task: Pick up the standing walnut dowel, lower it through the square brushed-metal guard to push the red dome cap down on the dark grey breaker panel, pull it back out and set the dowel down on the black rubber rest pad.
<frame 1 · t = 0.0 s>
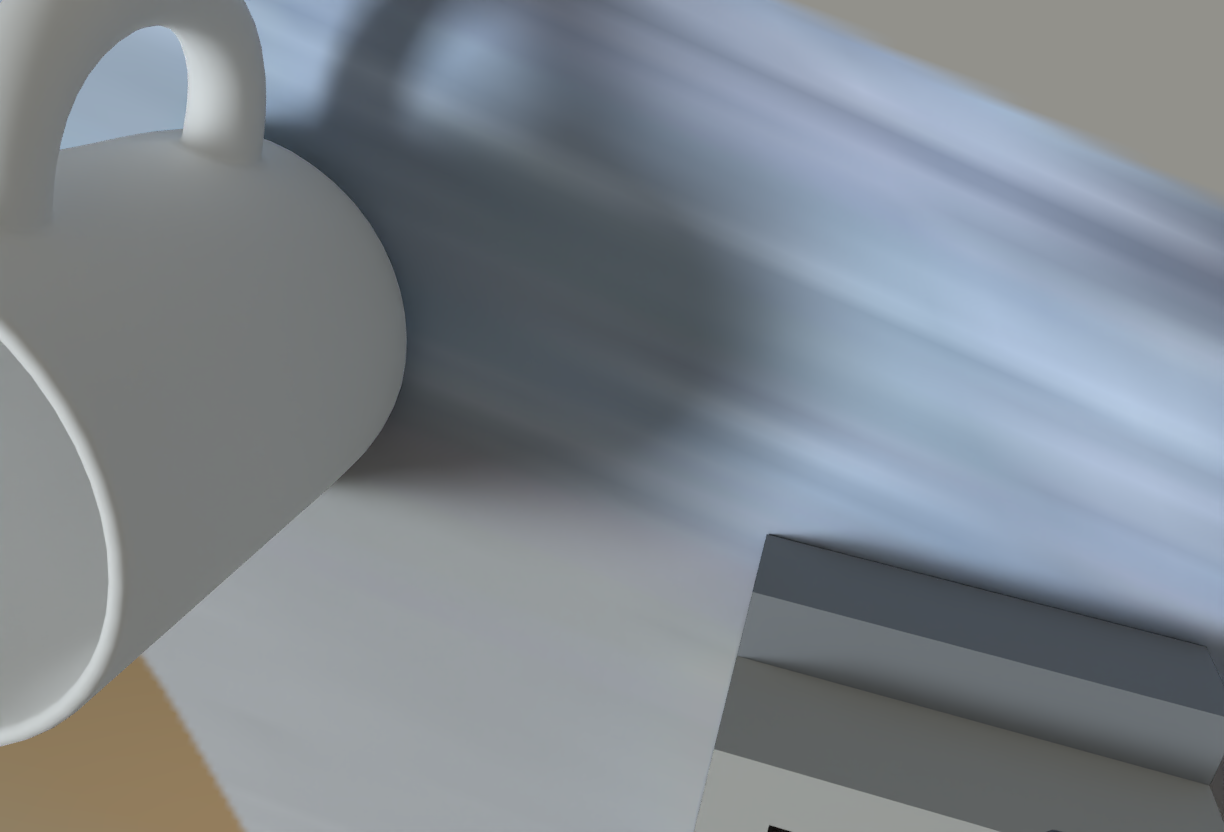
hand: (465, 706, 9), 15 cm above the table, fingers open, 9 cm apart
mug: (266, 231, 25), on the table
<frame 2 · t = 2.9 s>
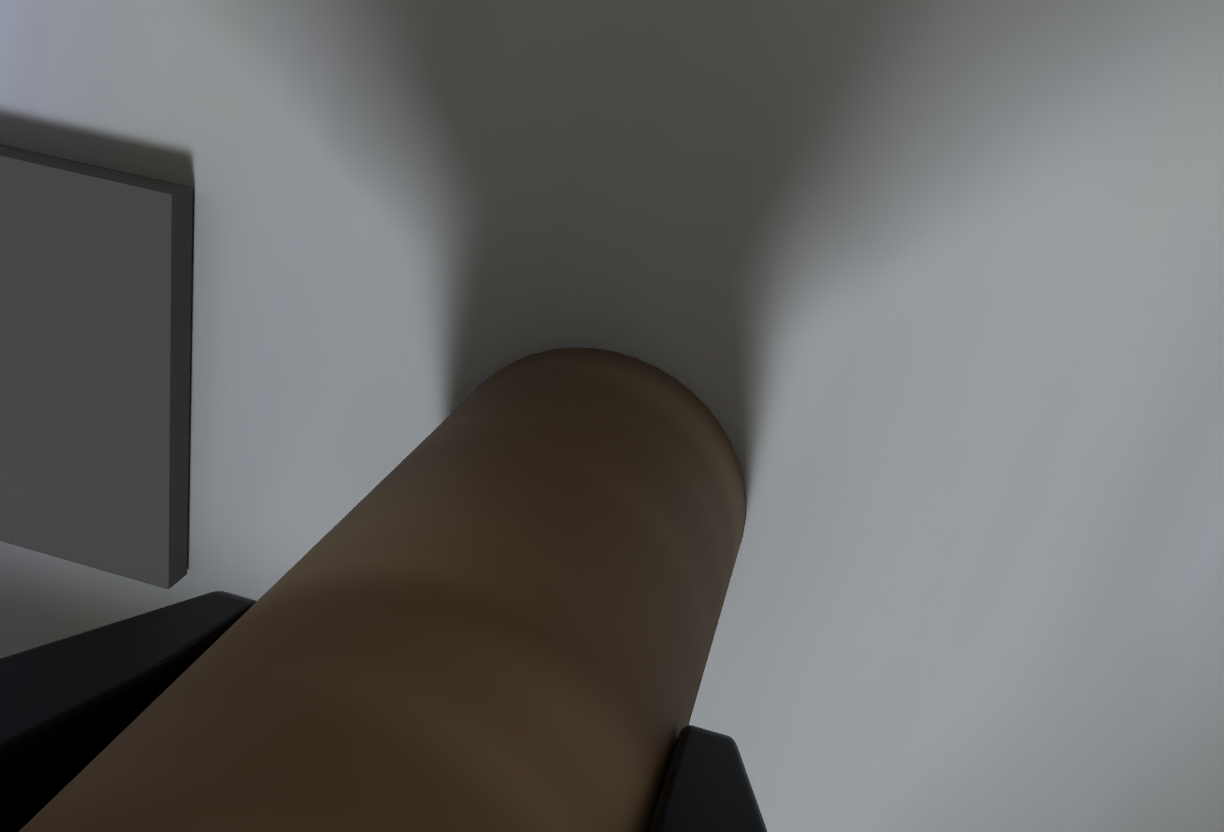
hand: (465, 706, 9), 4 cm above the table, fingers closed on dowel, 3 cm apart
rest pad: (5, 347, 14), on the table
dowel: (590, 496, 13), on the table, touching gripper
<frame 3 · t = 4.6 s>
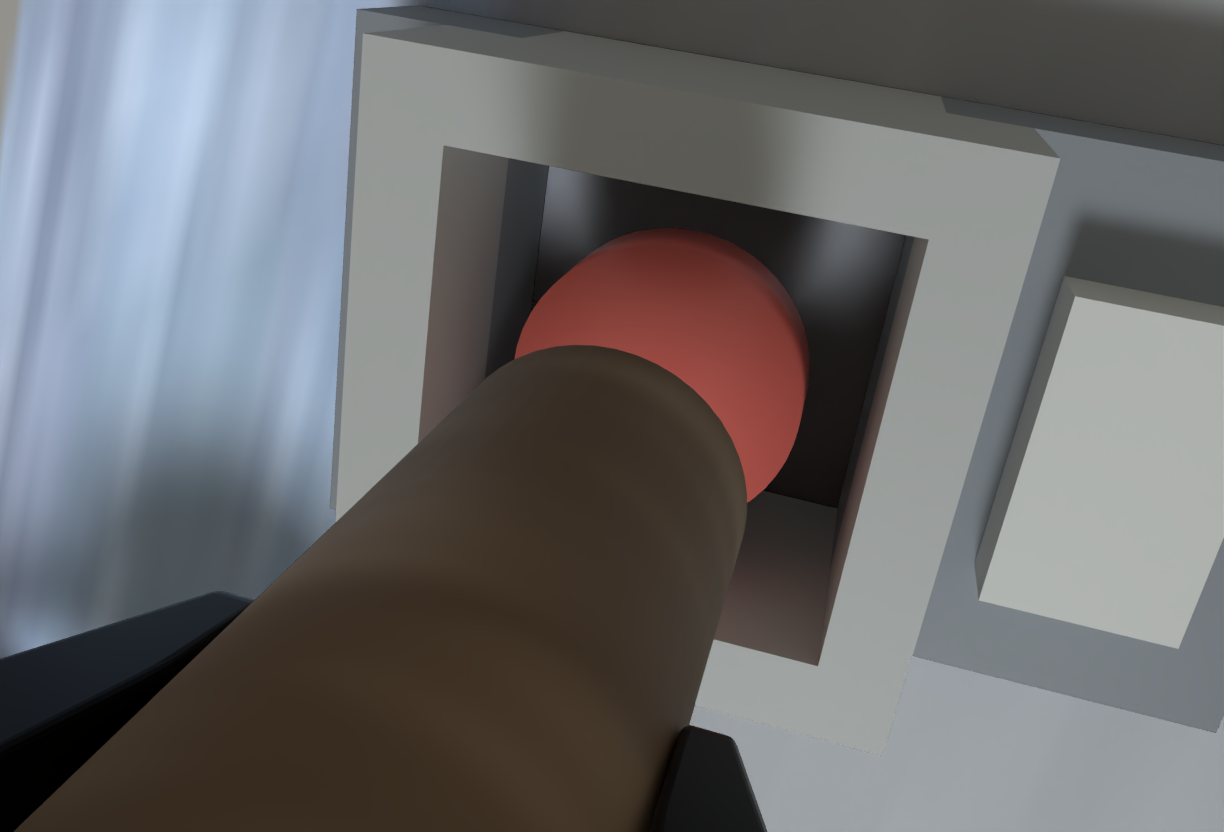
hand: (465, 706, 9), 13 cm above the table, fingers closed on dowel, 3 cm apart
dowel: (591, 494, 13), point 9 cm above the table, touching gripper
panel: (808, 335, 21), on the table
red dome cap: (669, 368, 18), point 3 cm above the table, slide at 0.0 cm
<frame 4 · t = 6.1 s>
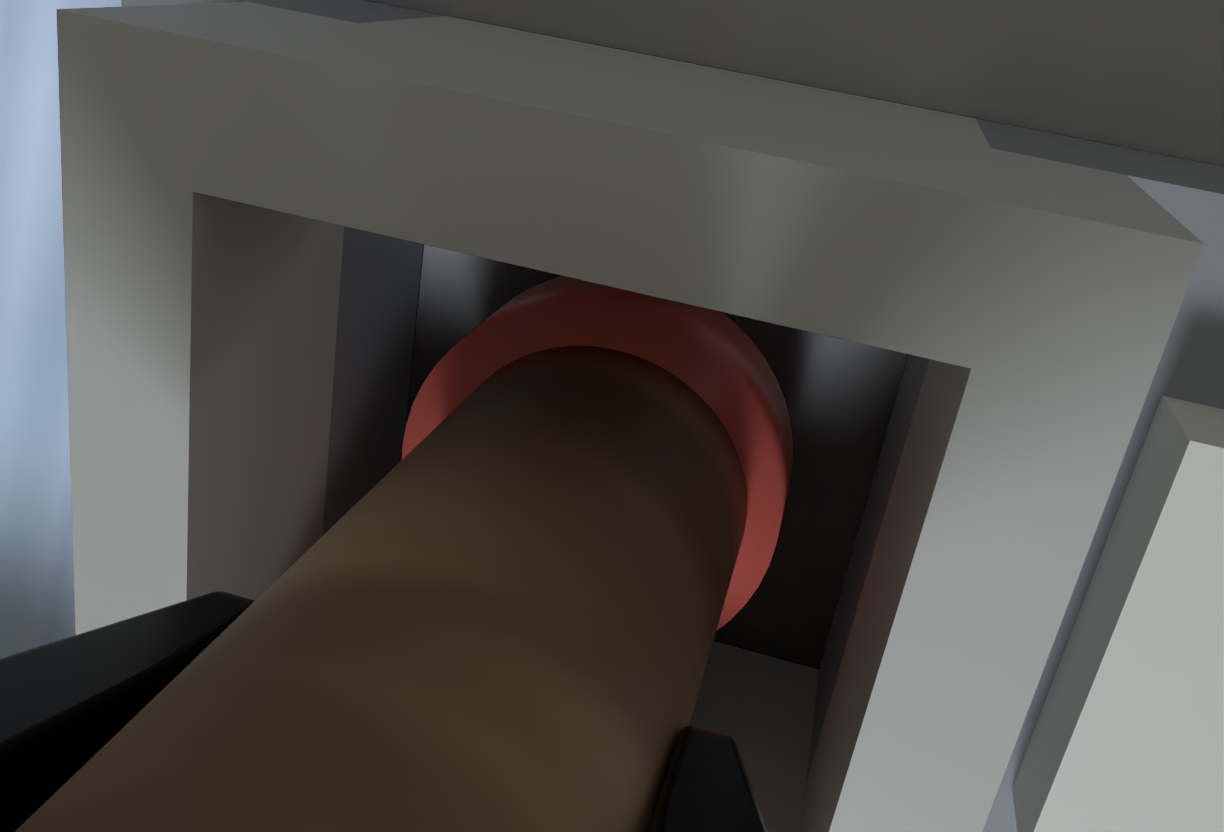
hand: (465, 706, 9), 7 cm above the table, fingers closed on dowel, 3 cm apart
dowel: (591, 494, 13), point 3 cm above the table, touching gripper, red dome cap
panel: (782, 443, 15), on the table
red dome cap: (610, 451, 14), point 2 cm above the table, slide at 1.7 cm, touching dowel
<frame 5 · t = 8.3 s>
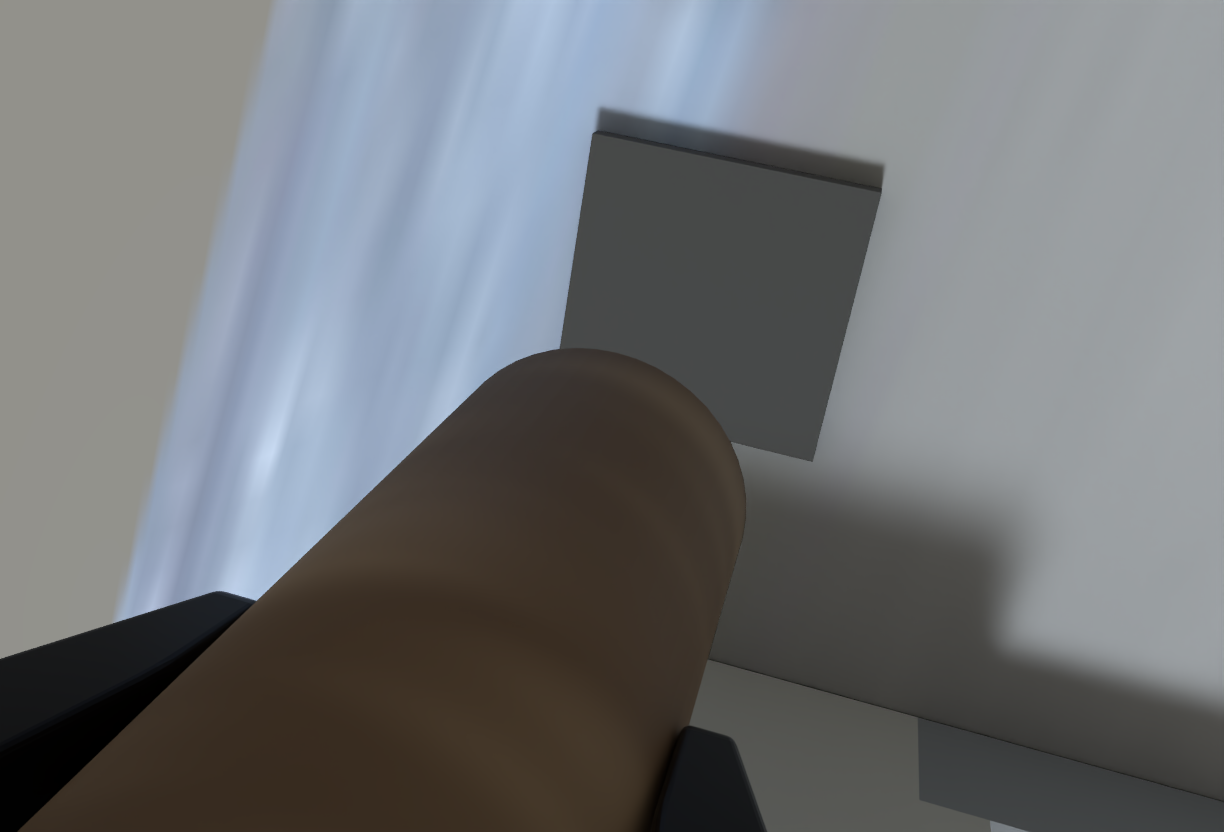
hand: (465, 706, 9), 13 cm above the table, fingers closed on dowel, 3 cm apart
rest pad: (709, 296, 21), on the table
dowel: (590, 497, 13), point 9 cm above the table, touching gripper
when the fingers open (5 cm above the table, at t = 9.8 s): dowel drops 1 cm, resting on rest pad.
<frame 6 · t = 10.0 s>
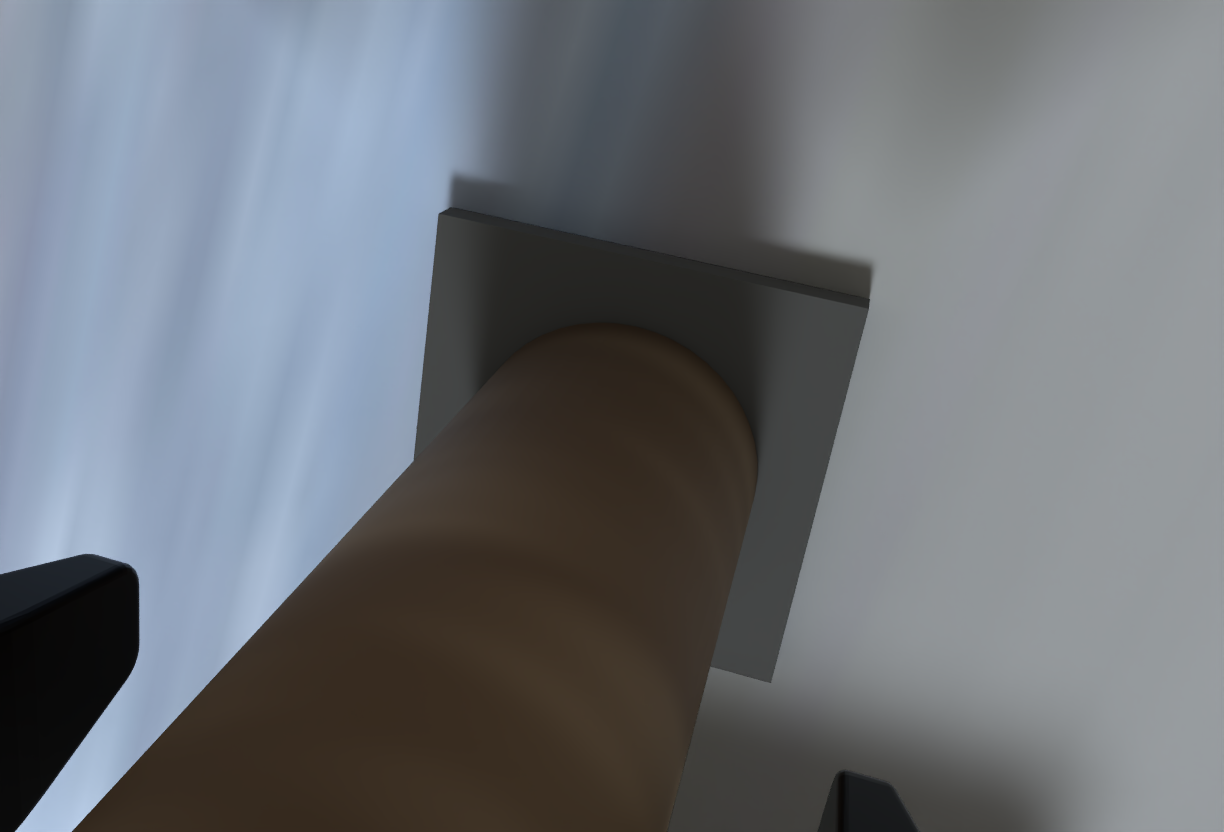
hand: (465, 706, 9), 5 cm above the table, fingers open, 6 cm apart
rest pad: (619, 446, 14), on the table
dowel: (612, 461, 14), resting on rest pad
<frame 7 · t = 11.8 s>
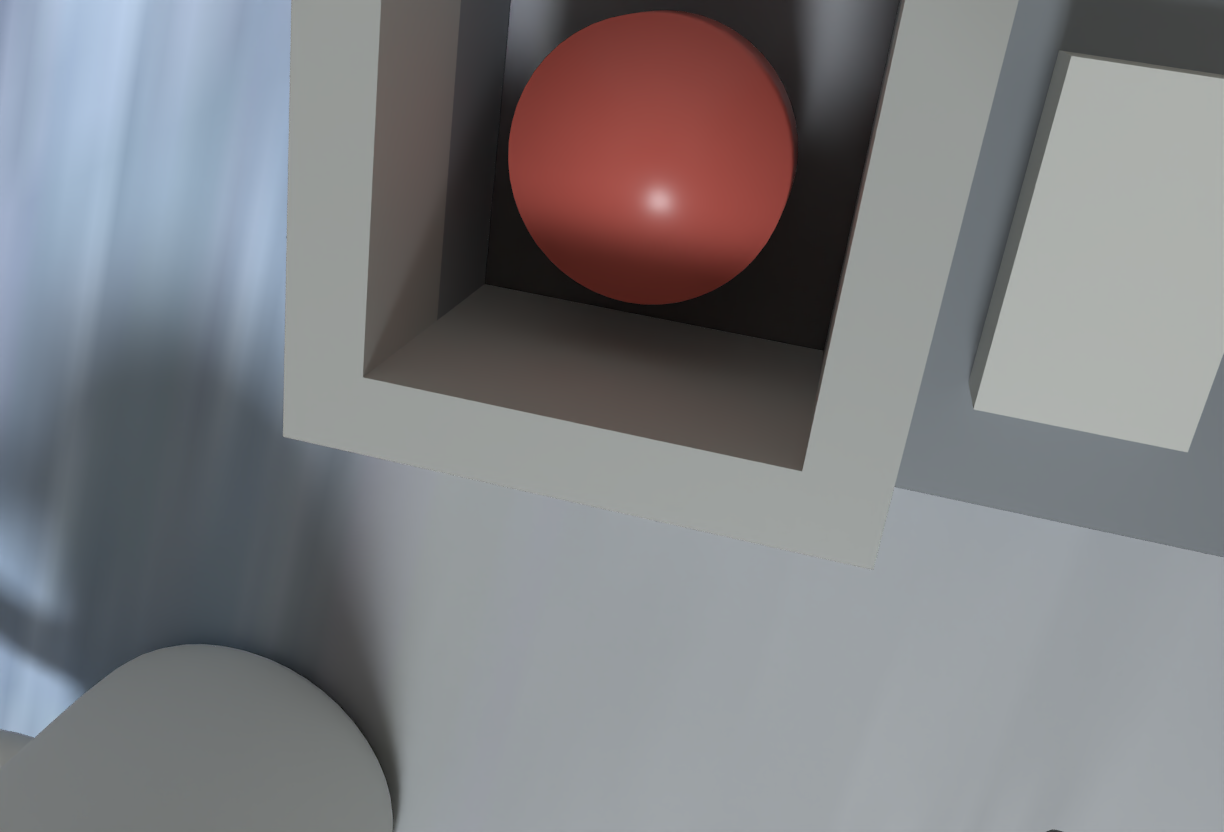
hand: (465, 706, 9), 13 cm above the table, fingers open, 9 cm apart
mug: (182, 743, 28), on the table
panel: (789, 160, 20), on the table
red dome cap: (660, 153, 19), point 2 cm above the table, slide at 1.7 cm
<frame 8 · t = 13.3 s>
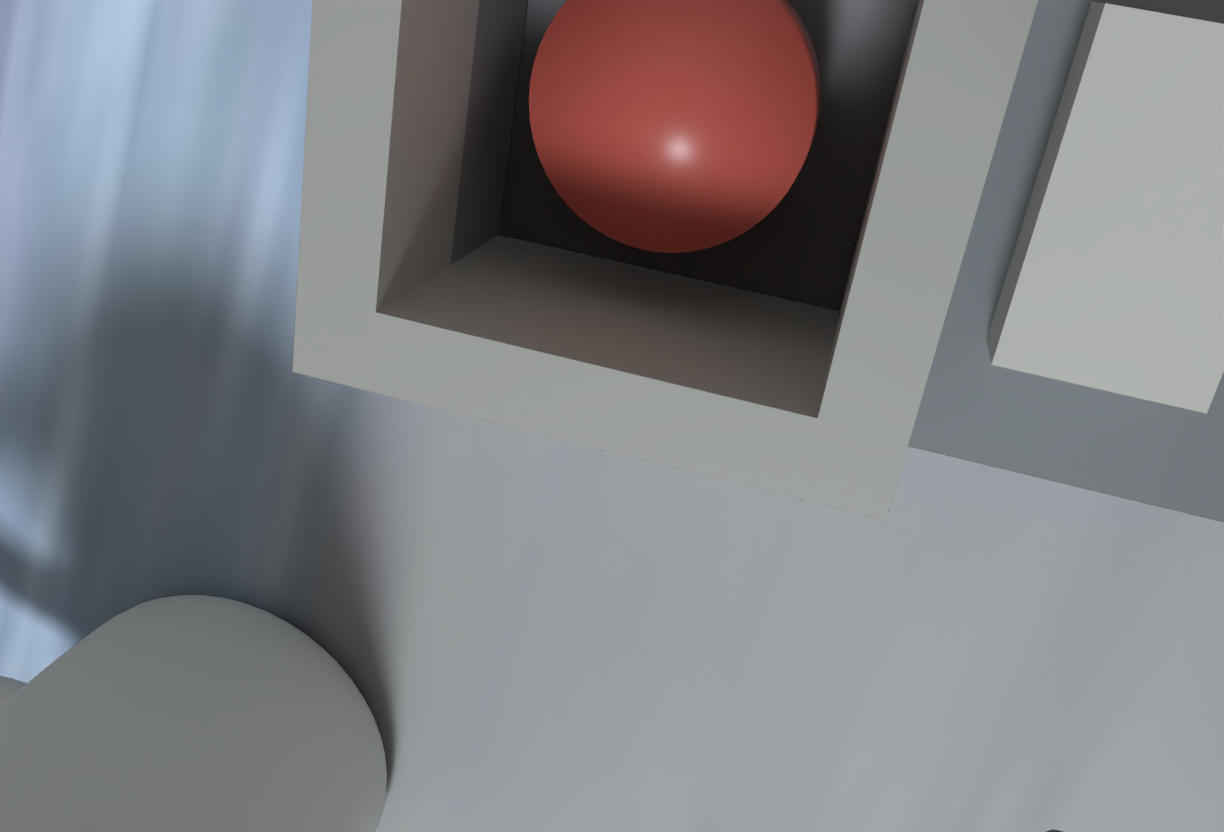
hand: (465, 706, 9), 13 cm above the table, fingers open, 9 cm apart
mug: (177, 696, 28), on the table
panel: (811, 115, 19), on the table
red dome cap: (682, 101, 18), point 2 cm above the table, slide at 1.7 cm
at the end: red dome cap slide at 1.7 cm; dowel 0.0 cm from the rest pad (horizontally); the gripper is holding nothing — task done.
